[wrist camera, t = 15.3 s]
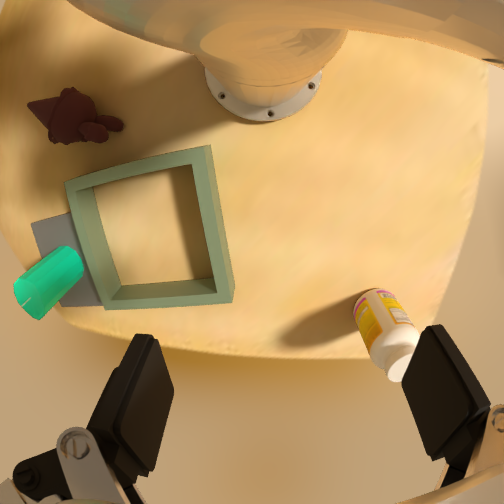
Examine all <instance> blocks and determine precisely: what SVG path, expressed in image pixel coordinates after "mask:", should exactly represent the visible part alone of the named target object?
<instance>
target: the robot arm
mask: <svg viewBox="0 0 504 504" xmlns="http://www.w3.org/2000/svg"><path fill="white" fill-rule="evenodd" d="M67 1H68V2H69V3H71V4H72V5H73V6H74V7H76V8H78V9H79V10H81V11H83V12H84V13H86V14H88V15H89V16H91V17H92V18H94V19H96V20H98V21H100V22H102V23H104V24H106V25H108V26H110V27H112V28H114V29H116V30H119V31H122V32H124V33H127V34H129V35H132V36H134V37H137V38H140V39H142V40H145V41H148V42H151V43H154V44H158V45H161V46H164V47H168V48H171V49H175V50H179V51H183V52H186V53H190V54H194V55H195V56H196V58H197V59H198V60H199V61H200V62H201V63H202V64H203V65H204V66H205V78H206V82H207V86H208V88H209V90H210V92H211V94H212V95H213V96H214V98H215V99H216V100H217V102H218V103H219V104H221V105H222V106H223V107H224V108H225V109H226V110H228V111H229V112H231V113H233V114H235V115H237V116H239V117H241V118H245V119H249V120H253V121H262V122H264V121H275V120H279V119H283V118H286V117H289V116H291V115H293V114H295V113H297V112H298V111H300V110H301V109H302V108H304V107H305V106H306V105H307V104H308V103H309V102H310V101H311V99H312V98H313V97H314V96H315V94H316V92H317V90H318V88H319V85H320V81H321V78H322V68H323V67H324V66H325V65H326V64H327V63H328V62H329V61H330V60H331V59H332V58H333V57H334V56H335V54H336V53H337V52H338V50H339V49H340V48H341V46H342V44H343V42H344V41H345V38H346V36H347V32H348V30H354V31H362V32H369V33H376V34H382V35H388V36H393V37H399V38H411V39H415V40H419V41H423V42H427V43H431V44H435V45H438V46H441V47H445V48H448V49H451V50H454V51H457V52H460V53H463V54H466V55H469V56H471V57H474V58H477V59H479V60H482V61H484V62H487V63H489V64H491V65H494V66H497V67H499V68H502V69H504V0H67ZM308 85H311V86H312V89H309V88H308ZM221 95H225V98H224V99H222V98H221ZM268 112H272V114H273V115H272V116H268ZM402 388H403V391H404V393H405V396H406V398H407V401H408V403H409V406H410V409H411V411H412V414H413V417H414V419H415V422H416V425H417V428H418V430H419V433H420V436H421V439H422V442H423V445H424V448H425V451H426V453H427V455H429V456H431V459H432V461H435V460H437V459H440V458H443V457H445V460H446V464H445V466H444V469H443V471H442V474H441V476H440V478H439V481H438V483H437V485H436V487H435V489H434V491H432V492H429V493H427V494H424V495H421V496H418V497H415V498H412V499H409V500H406V501H403V502H399V503H396V504H504V405H502V404H500V405H496V406H494V407H493V408H492V409H490V407H489V406H490V405H491V403H490V401H489V399H488V397H487V396H486V394H485V392H484V390H483V388H482V387H481V385H480V383H479V381H478V380H477V378H476V376H475V375H474V373H473V371H472V370H471V368H470V367H469V365H468V363H467V362H466V360H465V358H464V357H463V355H462V354H461V352H460V351H459V349H458V348H457V346H456V345H455V343H454V341H453V340H452V339H451V337H450V336H449V334H448V333H447V331H446V330H445V328H444V327H443V326H442V325H440V324H439V325H432V326H427V327H426V328H425V330H424V331H422V333H421V335H420V338H419V340H418V343H417V345H416V348H415V350H414V353H413V355H412V357H411V360H410V362H409V364H408V367H407V369H406V371H405V373H404V376H403V378H402ZM173 396H174V387H173V384H172V381H171V379H170V375H169V372H168V370H167V366H166V363H165V360H164V357H163V354H162V351H161V348H160V344H159V341H158V340H157V339H154V337H153V336H152V335H149V334H135V335H134V337H133V339H132V341H131V343H130V345H129V347H128V349H127V351H126V353H125V355H124V357H123V359H122V361H121V363H120V365H119V367H116V368H115V369H114V370H113V372H112V374H111V376H110V378H109V380H108V382H107V384H106V386H105V388H104V390H103V392H102V394H101V397H100V399H99V401H98V403H97V405H96V408H95V410H94V412H93V414H92V416H91V418H90V421H89V423H88V425H87V428H86V429H84V428H82V427H72V428H69V429H67V430H65V431H64V432H63V433H62V434H61V435H60V436H59V438H58V440H57V444H56V448H55V449H52V450H50V451H47V452H45V453H42V454H40V455H37V456H34V457H32V458H29V459H26V460H24V461H22V462H20V463H18V464H17V465H16V467H15V469H14V471H13V479H12V480H11V479H9V478H8V479H6V480H5V481H4V482H2V483H1V484H0V504H147V503H146V501H145V500H144V498H143V496H142V495H141V493H140V491H139V490H138V488H137V486H136V485H135V483H136V480H137V476H138V475H140V476H144V477H148V474H149V471H153V470H154V468H155V465H156V461H157V457H158V453H159V449H160V445H161V441H162V437H163V433H164V429H165V426H166V422H167V418H168V415H169V411H170V407H171V403H172V400H173Z"/></svg>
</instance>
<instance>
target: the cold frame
mask: <svg viewBox="0 0 504 504" xmlns="http://www.w3.org/2000/svg"><path fill="white" fill-rule="evenodd" d="M188 164H192V169H193V174H194V180H195V186H196V191H197V196H198V202H199V207H200V212H201V217H202V222H203V227H204V232H205V237H206V242H207V247H208V252H209V257H210V261H211V266H212V271H213V275H214V278H206V279H196V280H185V281H174V282H162V283H150V284H138V285H126V286H121V283H120V280H119V277H118V274H117V271H116V268H115V265H114V262H113V259H112V256H111V253H110V250H109V247H108V243H107V240H106V237H105V233H104V230H103V226H102V223H101V219H100V215H99V211H98V208H97V204H96V200H95V195H94V191H93V187H92V186H96V185H99V184H103V183H107V182H111V181H114V180H118V179H122V178H127V177H131V176H135V175H139V174H144V173H148V172H153V171H157V170H162V169H167V168H172V167H177V166H182V165H188ZM64 185H65V189H66V194H67V198H68V202H69V206H70V209H71V213H72V217H73V220H74V224H75V227H76V231H77V234H78V237H79V240H80V244H81V247H82V250H83V253H84V256H85V259H86V262H87V264H88V267H89V270H90V273H91V276H92V278H93V281H94V284H95V286H96V289H97V291H98V294H99V296H100V299H101V301H102V304H103V306H104V308H105V310H126V309H149V308H168V307H184V306H199V305H212V304H225V303H232V302H233V296H234V290H235V283H234V277H233V272H232V266H231V261H230V256H229V250H228V245H227V239H226V233H225V228H224V222H223V216H222V211H221V205H220V199H219V193H218V187H217V181H216V175H215V169H214V163H213V157H212V151H211V145H206V146H201V147H195V148H190V149H185V150H180V151H175V152H170V153H166V154H161V155H157V156H152V157H148V158H144V159H140V160H136V161H132V162H128V163H124V164H120V165H117V166H113V167H109V168H106V169H102V170H99V171H96V172H92V173H89V174H86V175H82V176H79V177H77V178H74V179H71V180H68V181H66V182H64Z"/></svg>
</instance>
